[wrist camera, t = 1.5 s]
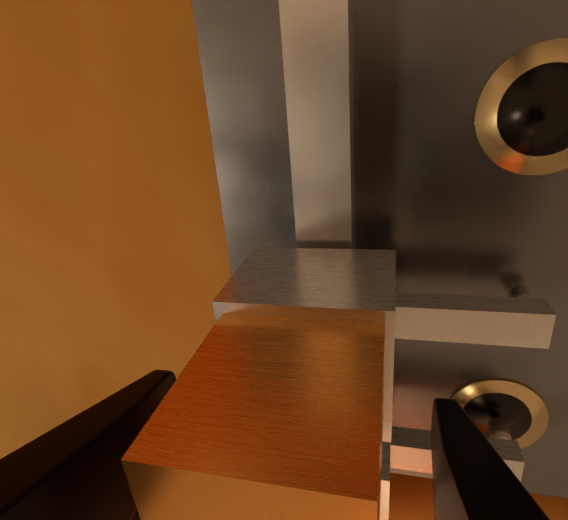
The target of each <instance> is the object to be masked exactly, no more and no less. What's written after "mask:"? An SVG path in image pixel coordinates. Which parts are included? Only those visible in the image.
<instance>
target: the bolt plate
mask: <svg viewBox="0 0 568 520" xmlns="http://www.w3.org/2000/svg"><path fill="white" fill-rule="evenodd" d="M192 6H193V13H194V20H195V27H196V34H197V41H198V47H199V54H200V61H201V68H202V75H203V82H204V89H205V96H206V102H207V109H208V116H209V123H210V130H211V137H212V144H213V151H214V157H215V164H216V171H217V178H218V185H219V192H220V199H221V206H222V212H223V219H224V226H225V233H226V240H227V247H228V254H229V260H230V267H231V274H232V276H233V274H234V273H235V272H236V270H237V269H238V268H239V267H240V265H241V264H242V263H243V261H244V260H245V259H246V257H247V256H248V255H249V254H250V252H251V251H252V250H253V248H254V247H267V248H322V249H378V250H396V292H399V293H423V294H447V295H470V296H494V297H508V292H509V290H510V289H511V288H513V287H514V286H518V285H522V286H526V287H527V288H529V290H530V291H531V293H532V295H533V296H534V298H541V299H546V300H547V301H548V303H549V305H550V306H551V308H552V309H553V311H554V312H555V314H556V318H555V322H554V327H553V332H552V336H551V341H550V346H549V349H542V348H528V347H513V346H499V345H484V344H470V343H455V342H440V341H426V340H411V339H397V338H395V342H394V374H393V405H392V437H391V442H384V441H382V469H381V497H380V520H389V494H390V473H397V474H404V475H411V476H418V477H425V478H432V479H433V472H432V452H431V424H432V412H433V402H434V399H435V398H447V399H454V400H456V401H458V402H459V404H460V405H461V406H462V407H463V409H464V410H465V411H466V413H467V414H468V415H469V416H470V418H471V419H472V420H473V422H474V423H475V424H476V425H477V427H478V428H479V429H480V431H481V432H482V433H483V434H484V436H485V437H486V438H487V440H488V441H489V442H490V443H491V445H492V446H493V447H494V449H495V450H496V451H497V452H498V454H499V455H500V456H501V458H502V459H503V460H504V461H505V463H506V464H507V465H508V467H509V468H510V469H511V470H512V472H513V473H514V474H515V476H516V477H517V478H518V479H519V481H520V482H521V483H522V485H523V486H524V487H525V488H526V490H527V491H528V492H529V493H535V494H542V495H549V496H555V497H562V498H568V0H192Z"/></svg>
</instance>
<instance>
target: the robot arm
mask: <svg viewBox="0 0 568 520" xmlns="http://www.w3.org/2000/svg"><path fill="white" fill-rule="evenodd" d="M175 381H176V377H175V374H174V373H173V372H172V371H167V370H154V371H152V372H151V373H149V374H147V375H145V376H144V377H142V378H140V379H138V380H137V381H135V382H133V383H132V384H130V385H128V386H126V387H125V388H123V389H121V390H119V391H118V392H116V393H114V394H113V395H111V396H109V397H107V398H106V399H104V400H102V401H100V402H99V403H97V404H95V405H93V406H92V407H90V408H88V409H87V410H85V411H83V412H81V413H80V414H78V415H76V416H74V417H73V418H71V419H69V420H67V421H66V422H64V423H62V424H61V425H59V426H57V427H55V428H54V429H52V430H50V431H48V432H47V433H45V434H43V435H41V436H40V437H38V438H36V439H34V440H33V441H31V442H29V443H28V444H26V445H24V446H22V447H21V448H19V449H17V450H15V451H14V452H12V453H10V454H8V455H7V456H5V457H3V458H2V459H0V520H141V519H140V516H139V513H138V510H137V507H136V504H135V501H134V498H133V495H132V492H131V489H130V486H129V483H128V480H127V477H126V474H125V471H124V468H123V465H122V462H121V459H122V457H123V456H124V454H125V453H126V452H127V450H128V449H129V447H130V446H131V444H132V443H133V442H134V440H135V439H136V437H137V436H138V434H139V433H140V431H141V430H142V429H143V427H144V426H145V424H146V423H147V421H148V420H149V419H150V417H151V416H152V414H153V413H154V411H155V410H156V408H157V407H158V406H159V404H160V403H161V401H162V400H163V398H164V397H165V396H166V394H167V393H168V391H169V390H170V388H171V387H172V385H173V384H174V383H175ZM431 452H432V472H433V493H434V510H435V520H550V519H549V518H548V517H547V515H546V514H545V513H544V512H543V510H542V509H541V508H540V506H539V505H538V504H537V503H536V501H535V500H534V499H533V497H532V496H531V495H530V494H529V492H528V491H527V490H526V488H525V487H524V486H523V485H522V483H521V482H520V481H519V479H518V478H517V477H516V476H515V474H514V473H513V472H512V470H511V469H510V468H509V467H508V465H507V464H506V463H505V461H504V460H503V459H502V458H501V456H500V455H499V454H498V452H497V451H496V450H495V449H494V447H493V446H492V445H491V443H490V442H489V441H488V440H487V438H486V437H485V436H484V434H483V433H482V432H481V431H480V429H479V428H478V427H477V425H476V424H475V423H474V422H473V420H472V419H471V418H470V416H469V415H468V414H467V413H466V411H465V410H464V409H463V407H462V406H461V405H460V404H459V402H458V401H456V400H454V399H447V398H435V399H434V402H433V412H432V424H431Z"/></svg>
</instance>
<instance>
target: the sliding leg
mask: <svg viewBox="0 0 568 520" xmlns="http://www.w3.org/2000/svg"><path fill="white" fill-rule="evenodd" d="M212 303H213V309H214V315H215V321H216V324H215V325H214V326H213V328H212V329H211V331H210V332H209V334H208V335H207V337H206V338H205V339H204V341H203V342H202V344H201V345H200V347H199V348H198V349H197V351H196V352H195V354H194V355H193V357H192V358H191V360H190V361H189V362H188V364H187V365H186V367H185V368H184V370H183V371H182V372H181V374H180V375H179V377H178V378H177V380H176V381H175V383H174V384H173V385H172V387H171V388H170V390H169V391H168V393H167V394H166V396H165V397H164V398H163V400H162V401H161V403H160V404H159V406H158V407H157V408H156V410H155V411H154V413H153V414H152V416H151V417H150V419H149V420H148V421H147V423H146V424H145V426H144V427H143V429H142V430H141V431H140V433H139V434H138V436H137V437H136V439H135V440H134V442H133V443H132V444H131V446H130V447H129V449H128V450H127V452H126V453H125V454H124V456H123V457H122V459H121V462H122V465H123V468H124V471H125V474H126V477H127V480H128V483H129V486H130V489H131V492H132V495H133V498H134V501H135V504H136V507H137V510H138V513H139V516H140V519H141V520H380V497H381V469H382V441H384V442H391V437H392V405H393V374H394V342H395V338H397V339H411V340H426V341H440V342H455V343H470V344H484V345H499V346H513V347H528V348H542V349H549V346H550V341H551V336H552V332H553V327H554V322H555V318H556V314H555V312H554V311H553V309H552V308H551V306H550V305H549V303H548V301H547V300H546V299H541V298H534V296H533V295H532V293H531V291H530V290H529V288H527V287H526V286H522V285H518V286H514V287H513V288H511V289H510V290H509V292H508V297H494V296H470V295H447V294H423V293H399V292H396V250H378V249H322V248H267V247H254V248H253V250H252V251H251V252H250V254H249V255H248V256H247V257H246V259H245V260H244V261H243V263H242V264H241V265H240V267H239V268H238V269H237V270H236V272H235V273H234V274H233V276H232V277H231V278H230V279H229V281H228V282H227V283H226V285H225V286H224V287H223V289H222V290H221V291H220V292H219V294H218V295H217V296H216V298H215V299H214V300H213V301H212Z"/></svg>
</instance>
